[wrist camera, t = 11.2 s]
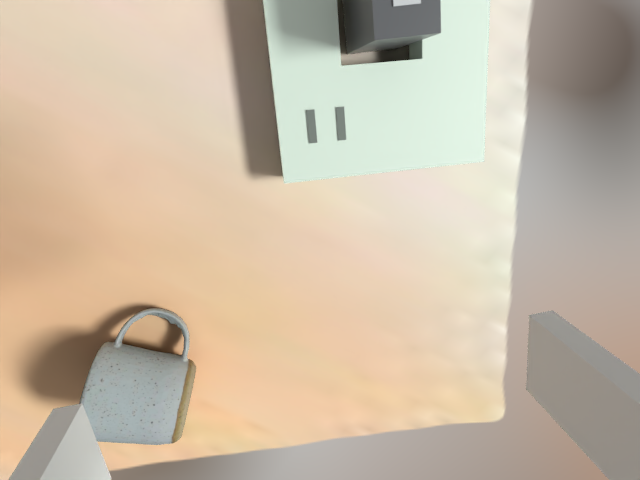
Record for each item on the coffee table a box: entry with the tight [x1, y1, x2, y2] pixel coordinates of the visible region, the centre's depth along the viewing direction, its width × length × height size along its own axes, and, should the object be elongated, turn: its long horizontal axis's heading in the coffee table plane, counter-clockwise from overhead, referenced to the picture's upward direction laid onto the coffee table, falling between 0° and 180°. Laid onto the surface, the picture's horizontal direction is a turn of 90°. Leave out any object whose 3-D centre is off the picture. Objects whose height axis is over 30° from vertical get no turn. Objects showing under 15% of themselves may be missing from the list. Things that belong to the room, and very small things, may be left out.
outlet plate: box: [263, 0, 490, 183], centre depth 33 cm, size 16×16×3 cm
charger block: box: [342, 0, 441, 54], centre depth 29 cm, size 4×4×9 cm
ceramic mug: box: [79, 308, 196, 445], centre depth 36 cm, size 11×8×8 cm
